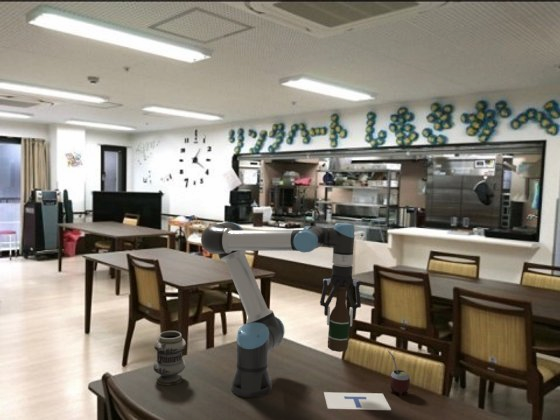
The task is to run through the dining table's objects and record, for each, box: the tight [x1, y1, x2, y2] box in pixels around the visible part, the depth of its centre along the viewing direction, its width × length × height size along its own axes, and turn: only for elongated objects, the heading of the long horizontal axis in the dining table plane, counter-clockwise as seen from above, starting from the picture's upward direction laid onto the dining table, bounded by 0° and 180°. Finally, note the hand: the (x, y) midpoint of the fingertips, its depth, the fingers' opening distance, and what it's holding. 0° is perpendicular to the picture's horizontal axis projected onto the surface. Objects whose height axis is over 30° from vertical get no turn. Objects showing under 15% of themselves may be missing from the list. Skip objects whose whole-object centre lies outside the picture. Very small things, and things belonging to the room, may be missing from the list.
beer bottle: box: [327, 286, 351, 353], centre depth 170 cm, size 8×8×24 cm
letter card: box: [323, 391, 392, 411], centre depth 163 cm, size 22×12×1 cm, turn 91°
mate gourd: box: [387, 349, 411, 398], centre depth 170 cm, size 8×8×15 cm
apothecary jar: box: [152, 330, 187, 386], centre depth 175 cm, size 12×12×18 cm
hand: (339, 324), depth 171 cm, fingers closed on beer bottle, 8 cm apart
